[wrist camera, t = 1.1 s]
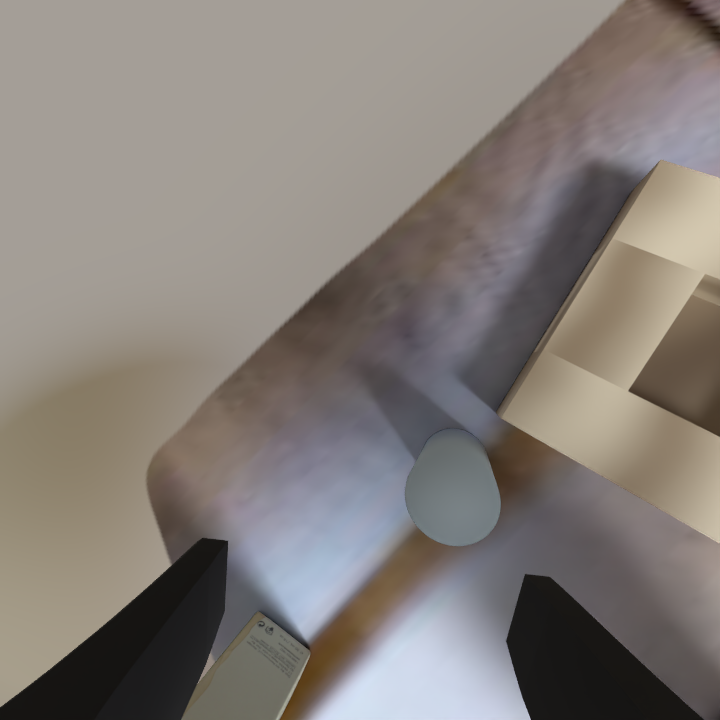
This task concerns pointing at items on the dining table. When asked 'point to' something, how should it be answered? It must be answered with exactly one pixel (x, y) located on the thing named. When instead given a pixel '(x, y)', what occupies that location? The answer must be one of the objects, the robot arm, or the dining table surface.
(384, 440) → the dining table surface
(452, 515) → the peg
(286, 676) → the skincare box
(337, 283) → the dining table surface
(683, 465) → the socket block
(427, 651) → the dining table surface
